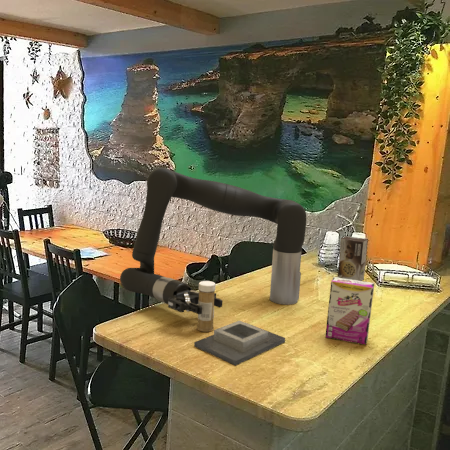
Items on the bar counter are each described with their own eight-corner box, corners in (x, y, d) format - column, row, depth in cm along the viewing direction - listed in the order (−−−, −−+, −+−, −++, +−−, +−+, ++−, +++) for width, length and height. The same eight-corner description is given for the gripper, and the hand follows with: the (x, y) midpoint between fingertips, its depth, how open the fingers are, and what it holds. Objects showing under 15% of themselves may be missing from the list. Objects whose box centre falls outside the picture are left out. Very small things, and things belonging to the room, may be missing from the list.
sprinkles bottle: (216, 328, 138) (218, 282, 135) (209, 333, 134) (211, 286, 131) (201, 324, 140) (203, 279, 137) (194, 330, 136) (195, 283, 133)
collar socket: (244, 326, 140) (245, 314, 139) (285, 342, 131) (286, 329, 130) (194, 346, 125) (194, 332, 125) (235, 365, 116) (236, 351, 116)
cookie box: (364, 279, 193) (368, 239, 190) (359, 283, 188) (363, 241, 185) (342, 274, 198) (345, 235, 195) (336, 278, 192) (340, 238, 189)
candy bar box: (324, 338, 135) (330, 280, 132) (327, 331, 139) (332, 276, 136) (367, 346, 131) (373, 287, 128) (368, 339, 136) (374, 282, 133)
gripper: (152, 284, 139) (193, 299, 128) (189, 275, 149) (229, 288, 139) (152, 309, 140) (192, 327, 130) (188, 298, 151) (228, 314, 140)
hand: (211, 307), depth 134 cm, fingers open, 7 cm apart
